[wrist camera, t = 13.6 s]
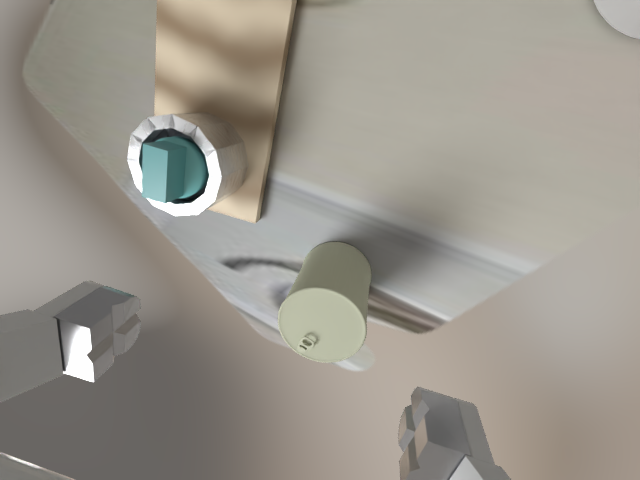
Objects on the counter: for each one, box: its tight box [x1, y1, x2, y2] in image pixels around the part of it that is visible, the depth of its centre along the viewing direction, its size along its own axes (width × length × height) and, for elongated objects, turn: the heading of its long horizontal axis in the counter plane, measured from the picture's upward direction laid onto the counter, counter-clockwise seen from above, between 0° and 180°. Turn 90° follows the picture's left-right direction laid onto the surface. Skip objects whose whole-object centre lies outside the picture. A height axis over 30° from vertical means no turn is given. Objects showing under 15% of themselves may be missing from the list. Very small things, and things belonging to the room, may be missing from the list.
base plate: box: [154, 0, 297, 223], centre depth 37 cm, size 25×14×2 cm, turn 166°
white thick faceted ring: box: [127, 112, 249, 216], centre depth 36 cm, size 10×10×7 cm
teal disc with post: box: [142, 136, 209, 204], centre depth 32 cm, size 6×6×4 cm
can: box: [278, 242, 372, 363], centre depth 38 cm, size 9×9×12 cm
